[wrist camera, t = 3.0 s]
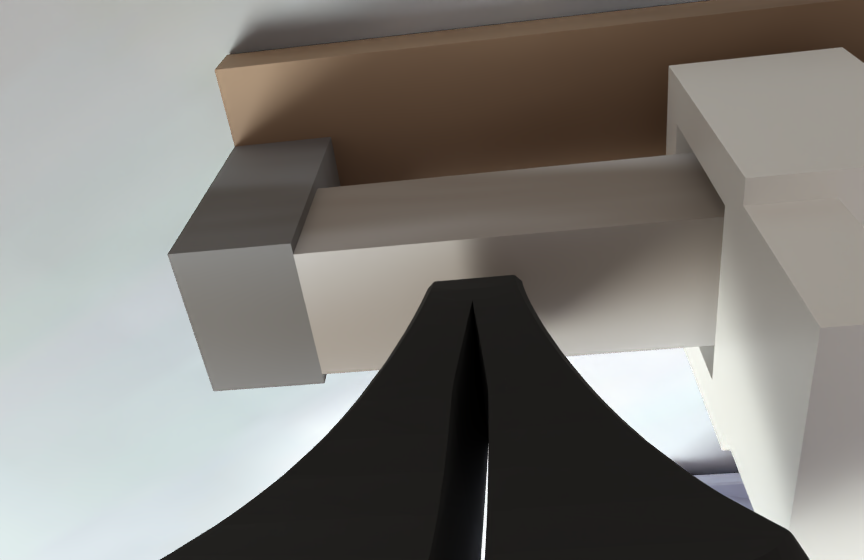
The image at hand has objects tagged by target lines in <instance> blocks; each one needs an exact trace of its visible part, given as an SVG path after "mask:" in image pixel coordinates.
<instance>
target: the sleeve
mask: <svg viewBox="0 0 864 560" xmlns="http://www.w3.org/2000/svg"><path fill="white" fill-rule="evenodd" d="M685 153H694V154H695V156H696V157H697V159H698V161H699V162H700V164H701V166H702V167H703V169H704V171H705V172H706V174H707V176H708V178H709V179H710V181H711V183H712V184H713V186H714V188H715V189H716V191H717V193H718V194H719V196H720V198H721V199H722V201H723V203H724V205H725V213H724V227H723V240H722V254H721V268H720V281H719V295H718V308H717V322H716V335H715V345H713V346H700V347H686V348H684V350H685V353H686V356H687V358H688V361H689V364H690V366H691V369H692V372H693V374H694V377H695V380H696V382H697V385H698V388H699V391H700V393H701V396H702V399H703V401H704V404H705V407H706V409H707V412H708V415H709V417H710V420H711V423H712V425H713V428H714V431H715V433H716V436H717V439H718V441H719V444H720V447H721V449H722V451H724V450H731V452H732V455H733V458H734V460H735V463H736V465H737V468H738V471H739V473H740V476H741V478H742V481H743V484H744V486H745V489H746V491H747V494H748V496H749V499H750V502H751V504H752V507H753V509H754V512H756V513H758V514H759V515H761V516H763V517H765V518H767V519H769V520H771V521H772V522H774V523H776V524H778V525H780V526H782V527H784V528H786V529H787V530H789V531H790V532H791V533H792V534H793V535H794V537H795V538H796V540H797V541H798V543H799V544H800V546H801V547H802V549H803V550H804V552H805V553H806V554H807V556H808V557H809V559H810V560H864V63H863V62H862V61H860V60H859V59H858V58H856V57H855V56H854V55H852V54H851V53H850V52H848V51H847V50H845V49H844V48H843V47H839V48H830V49H820V50H811V51H801V52H792V53H783V54H773V55H764V56H754V57H745V58H735V59H726V60H716V61H707V62H698V63H688V64H679V65H669V71H668V104H667V137H666V155H674V154H685Z"/></svg>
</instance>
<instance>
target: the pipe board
mask: <svg viewBox="0 0 864 560" xmlns="http://www.w3.org/2000/svg"><path fill="white" fill-rule="evenodd" d="M839 47H843V48H844V49H845V50H847V51H848V52H850V53H851V54H852V55H854V56H855V57H856V58H858V59H859V60H860V61H862V62H863V63H864V0H709V1H700V2H691V3H682V4H673V5H664V6H655V7H647V8H638V9H629V10H620V11H611V12H602V13H593V14H585V15H576V16H567V17H558V18H549V19H540V20H531V21H523V22H514V23H505V24H496V25H487V26H478V27H469V28H460V29H452V30H443V31H434V32H425V33H416V34H407V35H398V36H390V37H381V38H372V39H363V40H354V41H345V42H336V43H328V44H319V45H310V46H301V47H292V48H283V49H274V50H265V51H257V52H248V53H239V54H230V55H227V56H226V57H225V58H224V59H223V61H222V62H221V63H220V64H219V65H218V67H217V68H216V69H215V73H216V77H217V81H218V85H219V88H220V92H221V96H222V100H223V103H224V107H225V111H226V115H227V119H228V122H229V126H230V130H231V134H232V137H233V141H234V145H235V147H234V149H233V150H232V152H231V154H230V155H229V157H228V158H227V160H226V162H225V163H224V165H223V166H222V168H221V170H220V171H219V173H218V175H217V176H216V178H215V179H214V181H213V183H212V184H211V186H210V187H209V189H208V191H207V192H206V194H205V195H204V197H203V199H202V200H201V202H200V203H199V205H198V207H197V208H196V210H195V211H194V213H193V215H192V216H191V218H190V219H189V221H188V223H187V224H186V226H185V227H184V229H183V231H182V232H181V234H180V235H179V237H178V239H177V240H176V242H175V243H174V245H173V247H172V248H171V250H170V251H169V253H168V257H169V260H170V263H171V266H172V269H173V272H174V275H175V278H176V281H177V284H178V287H179V290H180V293H181V296H182V299H183V302H184V305H185V308H186V311H187V314H188V317H189V320H190V323H191V326H192V329H193V332H194V335H195V338H196V341H197V343H198V346H199V349H200V352H201V355H202V358H203V361H204V364H205V367H206V370H207V373H208V376H209V379H210V382H211V385H212V388H213V391H223V390H237V389H251V388H265V387H278V386H292V385H306V384H320V383H325V379H326V375H327V374H331V373H345V372H359V371H372V370H380V369H381V368H382V366H383V365H384V364H385V362H386V361H387V359H388V358H389V356H390V355H391V353H392V351H393V350H394V348H395V347H396V345H397V344H398V342H399V340H400V339H401V337H402V336H403V334H404V333H405V331H406V329H407V327H408V326H409V324H410V322H411V320H412V319H413V317H414V315H415V313H416V311H417V310H418V308H419V306H420V304H421V302H422V300H423V298H424V296H425V294H426V291H427V289H428V288H429V287H430V286H431V284H432V283H433V282H434V281H446V280H458V279H469V278H481V277H493V276H505V275H515V276H517V277H518V278H519V279H520V280H522V283H523V286H524V289H525V292H526V294H527V296H528V298H529V300H530V302H531V304H532V306H533V308H534V310H535V312H536V313H537V315H538V317H539V318H540V320H541V322H542V323H543V325H544V327H545V328H546V330H547V331H548V333H549V334H550V335H551V337H552V338H553V340H554V341H555V343H556V344H557V345H558V347H559V348H560V350H561V351H562V353H563V354H564V355H565V356H577V355H591V354H604V353H618V352H631V351H645V350H659V349H672V348H686V347H700V346H713V345H715V335H716V322H717V308H718V295H719V281H720V268H721V254H722V240H723V227H724V213H725V205H724V203H723V201H722V199H721V198H720V196H719V194H718V193H717V191H716V189H715V188H714V186H713V184H712V183H711V181H710V179H709V178H708V176H707V174H706V172H705V171H704V169H703V167H702V166H701V164H700V162H699V161H698V159H697V157H696V156H695V154H694V153H685V154H674V155H666V137H667V104H668V71H669V65H679V64H688V63H698V62H707V61H716V60H726V59H735V58H745V57H754V56H764V55H773V54H783V53H792V52H801V51H811V50H820V49H830V48H839Z"/></svg>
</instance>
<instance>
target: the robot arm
mask: <svg viewBox="0 0 864 560" xmlns="http://www.w3.org/2000/svg"><path fill="white" fill-rule="evenodd" d="M488 443H489V449H488ZM487 459H488V503H487V528H486V548H485V560H810V559H809V557H808V556H807V554H806V553H805V552H804V550H803V549H802V547H801V546H800V544H799V543H798V541H797V540H796V538H795V537H794V535H793V534H792V533H791V532H790V531H789V530H787V529H786V528H784V527H782V526H780V525H778V524H776V523H774V522H772V521H771V520H769V519H767V518H765V517H763V516H761V515H759V514H758V513H756V512H754V509H753V507H752V504H751V502H750V499H749V496H748V494H747V491H746V489H745V486H744V484H743V481H742V478H741V476H740V473H727V474H710V475H691V474H690V473H688V472H687V471H686V470H684V469H683V468H682V467H680V466H679V465H678V464H676V463H675V462H674V461H672V460H671V459H670V458H668V457H667V456H666V455H664V454H663V453H662V452H660V451H659V450H658V449H656V448H655V447H654V446H652V445H651V444H650V443H649V442H647V441H646V440H645V439H644V438H643V437H642V436H640V435H639V434H638V433H637V432H636V431H635V430H634V429H633V428H631V427H630V426H629V425H628V424H627V423H626V422H625V421H624V420H622V419H621V418H620V417H619V416H618V415H617V414H616V413H615V412H614V411H613V410H612V409H611V408H610V407H609V406H608V405H607V404H606V403H605V402H604V401H603V400H602V399H601V398H600V397H599V396H598V394H597V393H596V392H595V391H594V390H593V389H592V388H591V387H590V386H589V385H588V383H587V382H586V381H585V380H584V379H583V377H582V376H581V375H580V374H579V373H578V371H577V370H576V369H575V368H574V367H573V366H572V364H571V363H570V362H569V360H568V359H567V358H566V356H565V355H564V354H563V353H562V351H561V350H560V348H559V347H558V345H557V344H556V343H555V341H554V340H553V338H552V337H551V335H550V334H549V333H548V331H547V330H546V328H545V327H544V325H543V323H542V322H541V320H540V318H539V317H538V315H537V313H536V312H535V310H534V308H533V306H532V304H531V302H530V300H529V298H528V296H527V294H526V292H525V289H524V286H523V283H522V280H520V279H519V278H518V277H517V276H515V275H505V276H493V277H481V278H469V279H458V280H446V281H434V282H433V283H432V284H431V286H430V287H429V288H428V289H427V291H426V294H425V296H424V298H423V300H422V302H421V304H420V306H419V308H418V310H417V311H416V313H415V315H414V317H413V319H412V320H411V322H410V324H409V326H408V327H407V329H406V331H405V333H404V334H403V336H402V337H401V339H400V340H399V342H398V344H397V345H396V347H395V348H394V350H393V351H392V353H391V355H390V356H389V358H388V359H387V361H386V362H385V364H384V365H383V366H382V368H381V369H380V370H379V372H378V373H377V375H376V376H375V377H374V379H373V380H372V381H371V383H370V384H369V385H368V387H367V388H366V389H365V391H364V392H363V393H362V395H361V396H360V397H359V398H358V400H357V401H356V402H355V403H354V405H353V406H352V407H351V408H350V409H349V411H348V412H347V413H346V414H345V415H344V416H343V417H342V419H341V420H340V421H339V422H338V423H337V424H336V425H335V426H334V427H333V428H332V430H331V431H330V432H329V433H328V434H327V435H326V436H325V437H324V438H323V439H322V440H321V441H320V442H319V443H318V444H317V445H316V446H315V447H314V448H313V449H312V450H311V451H310V452H308V453H307V454H306V455H305V456H304V457H303V458H302V459H301V460H300V461H299V462H297V463H296V464H295V465H294V466H293V467H292V468H291V469H290V470H289V471H287V472H286V473H285V474H284V475H283V476H282V477H281V478H279V479H278V480H277V481H276V482H274V483H273V484H272V485H271V486H269V487H268V488H267V489H265V490H264V491H263V492H262V493H260V494H259V495H258V496H256V497H255V498H254V499H252V500H251V501H250V502H248V503H247V504H246V505H244V506H243V507H241V508H240V509H239V510H237V511H236V512H234V513H233V514H232V515H230V516H229V517H227V518H226V519H224V520H223V521H221V522H220V523H219V524H217V525H216V526H214V527H212V528H211V529H209V530H208V531H206V532H204V533H203V534H201V535H199V536H198V537H196V538H195V539H193V540H191V541H190V542H188V543H187V544H185V545H183V546H182V547H180V548H178V549H177V550H175V551H174V552H172V553H170V554H169V555H167V556H165V557H164V558H162V559H160V560H481V547H482V533H483V518H484V504H485V489H486V474H487Z"/></svg>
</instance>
